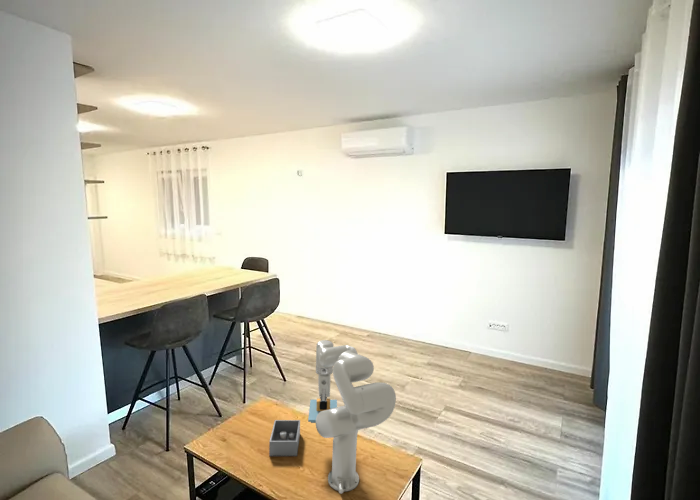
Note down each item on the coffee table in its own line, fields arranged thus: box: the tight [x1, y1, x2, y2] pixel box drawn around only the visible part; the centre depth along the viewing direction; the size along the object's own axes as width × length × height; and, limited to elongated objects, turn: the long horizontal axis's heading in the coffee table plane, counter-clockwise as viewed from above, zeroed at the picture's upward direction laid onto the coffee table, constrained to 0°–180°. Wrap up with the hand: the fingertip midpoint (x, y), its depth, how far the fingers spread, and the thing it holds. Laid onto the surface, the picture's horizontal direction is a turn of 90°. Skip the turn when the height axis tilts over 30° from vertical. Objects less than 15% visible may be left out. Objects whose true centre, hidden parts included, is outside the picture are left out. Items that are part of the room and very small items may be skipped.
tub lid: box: [307, 398, 338, 424], centre depth 170 cm, size 16×12×6 cm
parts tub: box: [268, 419, 301, 457], centre depth 173 cm, size 16×12×7 cm
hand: (323, 407), depth 170 cm, fingers closed on tub lid
